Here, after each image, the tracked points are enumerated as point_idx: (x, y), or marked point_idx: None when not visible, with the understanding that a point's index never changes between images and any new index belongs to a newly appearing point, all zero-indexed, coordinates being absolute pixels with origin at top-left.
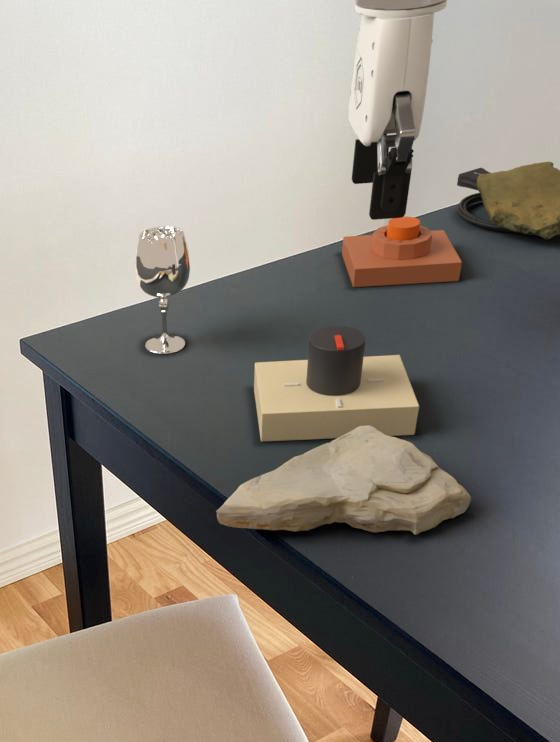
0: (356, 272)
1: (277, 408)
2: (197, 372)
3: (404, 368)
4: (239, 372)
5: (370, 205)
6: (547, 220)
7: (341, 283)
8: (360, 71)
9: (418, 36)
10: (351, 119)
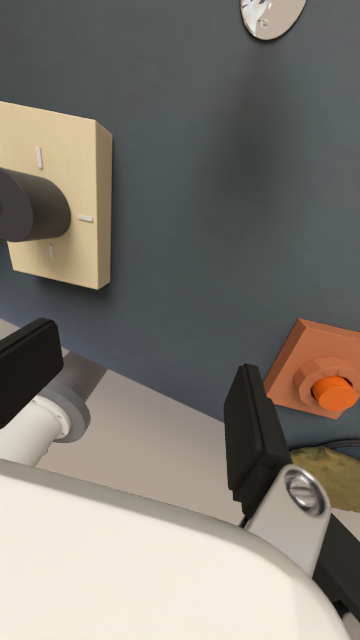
0: (303, 326)
1: None
2: (169, 49)
3: (72, 283)
4: (155, 124)
5: (29, 328)
6: None
7: (315, 312)
8: None
9: None
10: (139, 566)
